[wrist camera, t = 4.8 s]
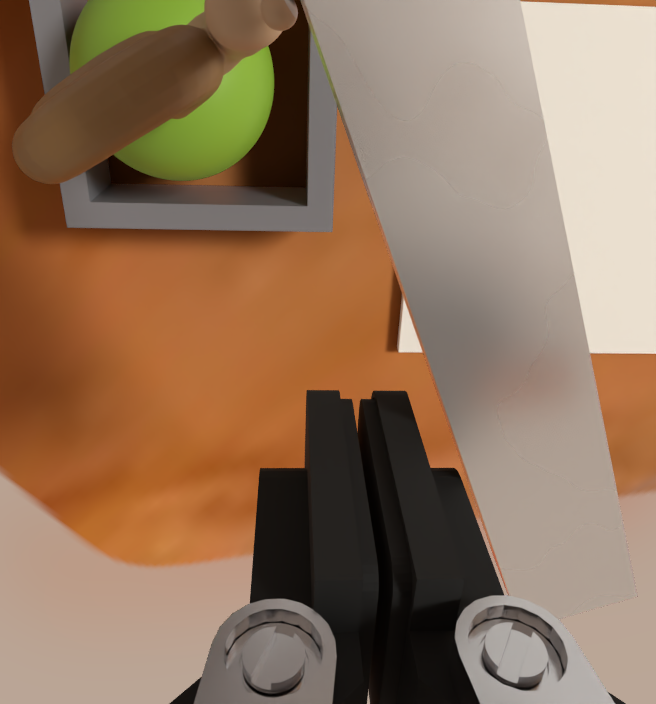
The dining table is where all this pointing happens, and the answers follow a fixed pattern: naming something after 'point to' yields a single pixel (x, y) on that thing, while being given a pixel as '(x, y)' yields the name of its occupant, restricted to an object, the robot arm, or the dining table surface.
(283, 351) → the dining table surface
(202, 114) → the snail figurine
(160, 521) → the dining table surface
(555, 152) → the mat
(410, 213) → the light grey long bar
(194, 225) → the socket base
